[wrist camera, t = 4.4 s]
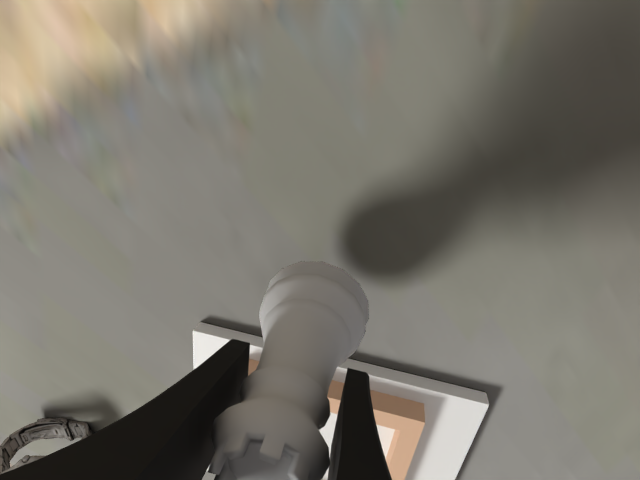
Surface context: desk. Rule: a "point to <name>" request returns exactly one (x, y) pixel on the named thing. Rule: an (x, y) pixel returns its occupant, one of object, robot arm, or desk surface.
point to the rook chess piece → (291, 377)
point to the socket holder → (389, 410)
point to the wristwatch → (37, 431)
